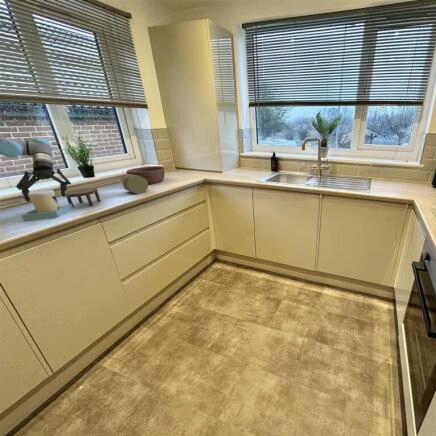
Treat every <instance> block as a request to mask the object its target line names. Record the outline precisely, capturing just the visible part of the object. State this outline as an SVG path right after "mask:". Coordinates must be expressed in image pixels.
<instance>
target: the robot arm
mask: <svg viewBox="0 0 436 436" xmlns="http://www.w3.org/2000/svg"><path fill="white" fill-rule="evenodd" d="M52 149H53V148H52V144H51V142H50V141H49V140H48V139H46V138H44V137H34V138H32V139H31V141H30V140H19V139H11V138H10V139H9V138H6V137H4V136H2V135H0V155H1V156H4V157H7V158H18V157H20V156H27V157H32V158H31V159H32V171H30V172H28V171H27V170H26V171H24V173H23V174H24V175H23V176H22V177H21V179H20V180H19V181H18V183H17V184H16V185H15V188H16V189H17V190H19V191H21V195H22V196H24V200H25V201H26V202H31V199H30V198H29V196H28V193H30V188H31V187H33V185H35V184H36V183H37V182H40V180H41V181H43V180H50V179H51V180H53V181H55V182H57V183H59V189H60V195H61V196H62V197H63V198H66V195H65V193H66V192H67V191H68V188H67V187H68V185H72V182H71V181H70V180H69V179H68V178H67V177H66V176H65V175H64V174H63V172H62V170H61V169H60V168H56V169H54V163H53V161H54V160H53V150H52ZM55 174H57V175H59V176H60V177H61V178H62V179H61V178H59V177H57V176H56V175H55Z"/></svg>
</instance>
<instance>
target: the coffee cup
mask: <svg viewBox="0 0 436 436" xmlns="http://www.w3.org/2000/svg"><path fill="white" fill-rule="evenodd" d="M28 196H29V198H30V202H31V204H32V205H33V206H34V209H36V210H37V212H38V213H43V212H54V211H57V210H59V209H60V205H59V203H58V200H57V196H56V194H55V190H53V188H50V189H49V188H46V189H45V188H44V189H39V190H34V191H29V193H28Z"/></svg>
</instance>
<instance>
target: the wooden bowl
mask: <svg viewBox="0 0 436 436" xmlns="http://www.w3.org/2000/svg"><path fill="white" fill-rule="evenodd" d="M125 173H126V175H127V174H133V175H137V176H141V177H144V178H145V179H146V180H147V182H148V186H149V185H154V184H159V183H162V182H163V181H164V180H165V167H164V166H159V165H153V166H140V167H136V168H135V167H134V168H130V169H127V170H126V171H125Z"/></svg>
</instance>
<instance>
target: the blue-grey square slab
mask: <svg viewBox="0 0 436 436" xmlns="http://www.w3.org/2000/svg"><path fill="white" fill-rule="evenodd" d="M72 210H74V208H73V207H72V204H69V203H68V204H66V205H64V206H62V207H59V210H57V211H54V212H43V213H38V212H37V210H36V208H34V209H32V210H30V211H28V212H24V213H22V214H21V216H22V219H23V221H25V222H27V221H36V220H47V219H55V218H56V219H58V218H59V217H61V216H63V215H65V214H67V213H68V212H70V211H72Z"/></svg>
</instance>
